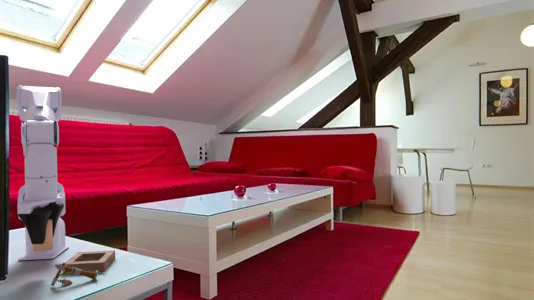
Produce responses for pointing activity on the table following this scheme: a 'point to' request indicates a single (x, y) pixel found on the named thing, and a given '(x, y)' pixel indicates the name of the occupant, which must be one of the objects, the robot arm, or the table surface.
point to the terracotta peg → (48, 239)
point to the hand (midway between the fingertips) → (42, 240)
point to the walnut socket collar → (91, 261)
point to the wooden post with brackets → (75, 271)
